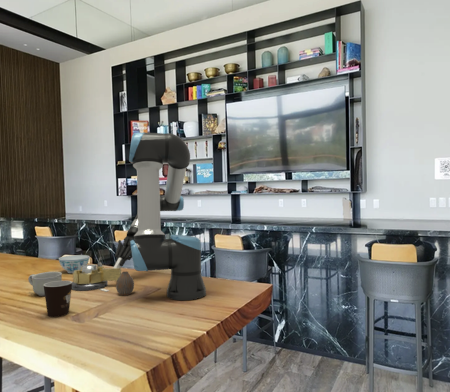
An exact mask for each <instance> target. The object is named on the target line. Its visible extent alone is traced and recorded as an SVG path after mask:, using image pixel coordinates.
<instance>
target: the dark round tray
mask: <svg viewBox="0 0 450 392" xmlns="http://www.w3.org/2000/svg"><path fill="white" fill-rule="evenodd" d="M92 270H97V264H87V265H84V266H82V273H92ZM108 283H109V281H101V282H97V283H90V284H77V283H74V282H73V281H72V290H71V291H75V292H76V291H77V292H88V291H95V290H99V289H105V288H106V287H107V286H108Z"/></svg>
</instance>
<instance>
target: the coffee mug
mask: <svg viewBox="0 0 450 392" xmlns="http://www.w3.org/2000/svg"><path fill="white" fill-rule="evenodd" d="M72 282H73V280H72V281H71V280H62V281H54V282H49V283H46V284H44V293H45V296H44V299H45V306H46V313H47V317H50V318H58V317H64V316H66V315H69V314H70V306H71V305H70V304H71V296H72V291H73V290H72Z"/></svg>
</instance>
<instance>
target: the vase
mask: <svg viewBox="0 0 450 392" xmlns="http://www.w3.org/2000/svg"><path fill="white" fill-rule="evenodd" d="M115 283H116V284H115V287H116V293H118V294H119V295H120V296H128V295H131V294H132V293H133V291H134V288H135V281H134V278H133V277H132V276H131V275H130V273H129V271H127V270H126V271H121V275H120V277H119V278H118V280H117V281H116V282H115Z"/></svg>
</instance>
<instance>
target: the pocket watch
mask: <svg viewBox="0 0 450 392" xmlns="http://www.w3.org/2000/svg"><path fill="white" fill-rule="evenodd" d="M101 260H102V257H101V256H99V258H98V262H97V264H96V265H97V269H98V267H100V266H102V267H104V266H103V263H102V261H101Z"/></svg>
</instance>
